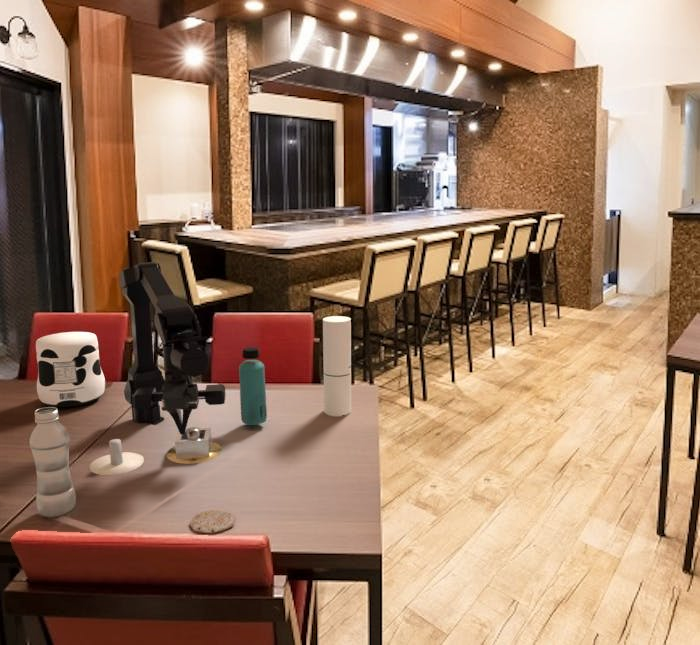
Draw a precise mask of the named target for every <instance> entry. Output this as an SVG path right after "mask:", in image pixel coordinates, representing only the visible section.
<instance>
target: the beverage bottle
mask: <svg viewBox="0 0 700 645" xmlns="http://www.w3.org/2000/svg"><path fill="white" fill-rule="evenodd" d="M260 356H261V355H260V349H259V348H258V347H256V346H248V347H244V348H242V358H243V359H244V361H242V362H241V364H239V366H238V372H239V377H238V378H239V397H240V398H239V400H240V404H239V405H240V418H241V422H242V423H243V424H244V425H249V426H250V425H252V426H253V425H256V426H257V425H261V424H264V423H265V422H266V421H267V418H268V410H267V394H266V393H267V392H266V391H267V390H266V386H267V385H266V377H265V375H266V374H265V364H264V363H263V362H262V361H260V360H258V358H260ZM245 359H246V360H245Z"/></svg>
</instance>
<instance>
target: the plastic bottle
mask: <svg viewBox="0 0 700 645" xmlns="http://www.w3.org/2000/svg"><path fill="white" fill-rule="evenodd" d="M59 420H60V416H59V410H58V408H57V407H55V406H48V407H45V406H44V407H41V408H37V409H36V410H34V422H35V423H36V424H37V425H36V426H35V427H34V429H33V430H32V432H31V435H30V438H29V446H30V450H31V453H32V456H33V460H34V465H35V470H36V488H37V489H36V496H35V498H36V499H35V504H36V508H37V511H38V512H39V513H40V514H41V515H42V516H43V517H45V518H57V517H61V516H64V515H65V514H68V513H69V512H71V511H72V510H73V509H74V507H75V505H76V502H77V500H76V499H77V495H76V491H75V488H74V486H73V481H72V476H71V471H70V464H69V463H70V455H69V454H70V441H71V440H70V434H69V433H70V432H69V431H68V429H67V428H66V427H65V426H64V425H63V424H62V423H61V422H60V421H59Z"/></svg>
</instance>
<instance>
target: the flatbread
mask: <svg viewBox="0 0 700 645" xmlns="http://www.w3.org/2000/svg"><path fill="white" fill-rule="evenodd" d="M235 521H236V516H235V514H234V513H232V512H231V511H230V512H229V511H227V510H221V509H219V510H218V509H211V510H205V511H201V512H199V513H197V514H195V515H194V516H192V518H191V520H190V522H189V526H190V528H191V529H192V530H193V531H194V532H197V533H204V534H214V533H219V532H223V531H225V530H228V529H230V528H232V527H234V525H235Z"/></svg>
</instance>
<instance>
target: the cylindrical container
mask: <svg viewBox="0 0 700 645" xmlns="http://www.w3.org/2000/svg"><path fill="white" fill-rule="evenodd" d="M351 320H352V318H351V317H349V316H345V315H344V316H341V315H332V316H326V317H323V318H322V348H323V349H322V353H323V356H322V358H323V361H322V363H323V412H325V413H326V414H325V413H324V414H325V415H327V414H328V415H327V416H329V415H331V416H330V417H343V416H342V415H345V416H347V415H346V414H348V413H350V412H351V413H352V322H351ZM351 413H350V414H351ZM348 415H349V414H348Z"/></svg>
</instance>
